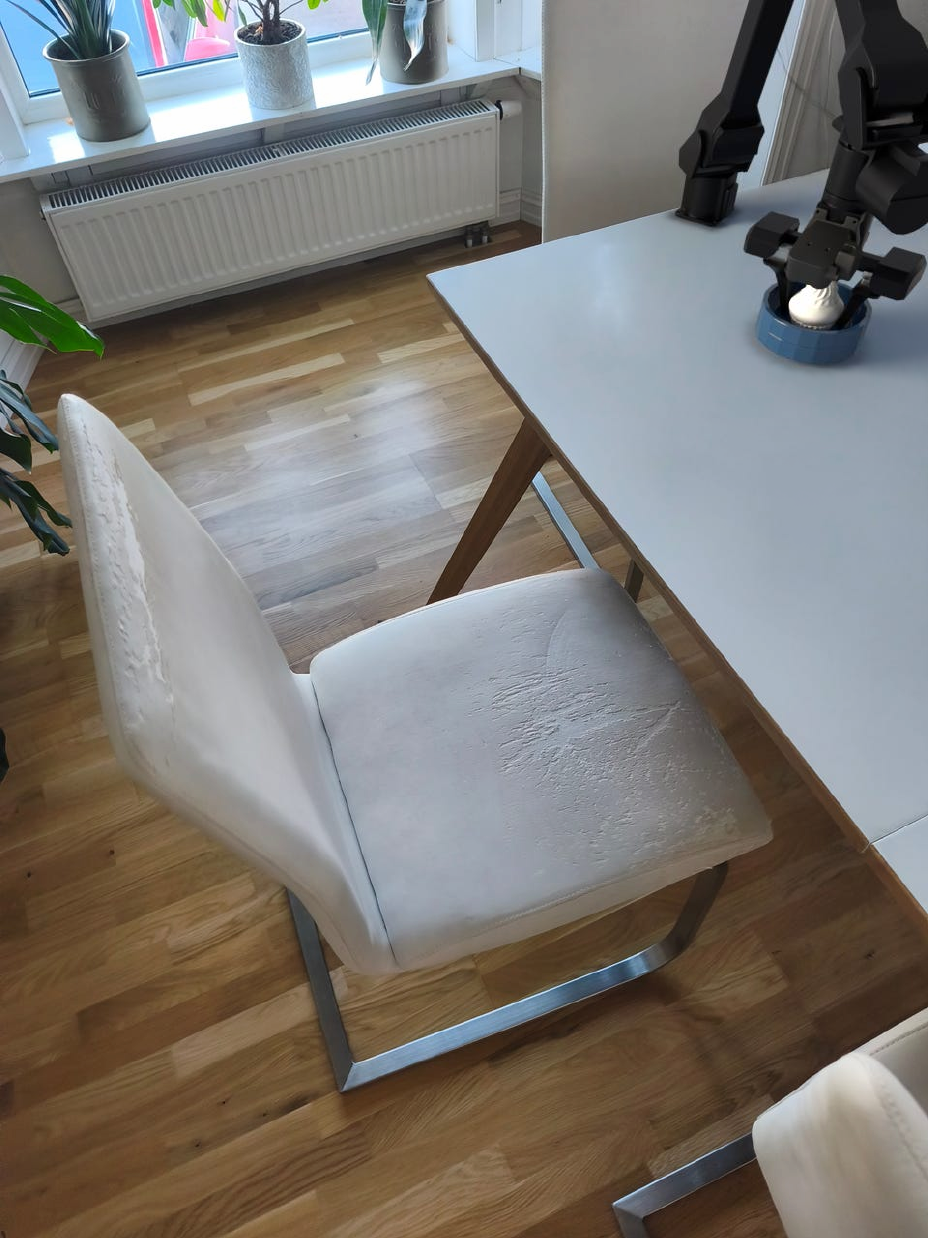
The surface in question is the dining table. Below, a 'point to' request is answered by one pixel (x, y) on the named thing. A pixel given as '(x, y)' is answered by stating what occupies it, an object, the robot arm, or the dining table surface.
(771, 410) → the dining table surface
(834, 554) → the dining table surface
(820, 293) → the muffin
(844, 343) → the bowl
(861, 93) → the robot arm
